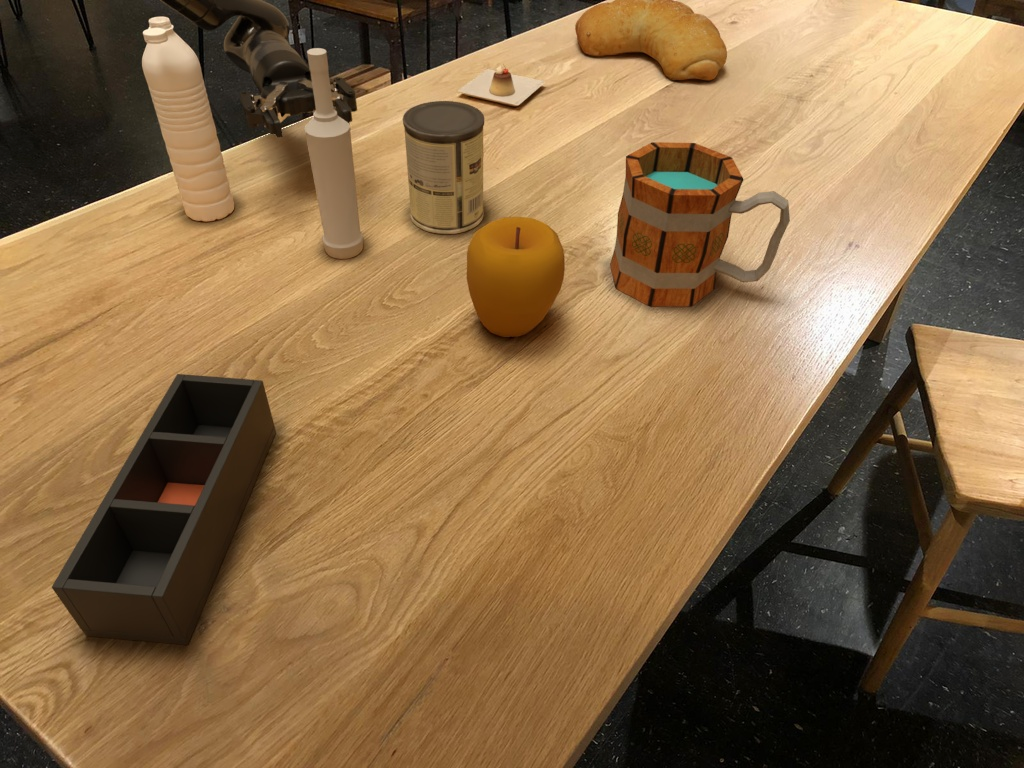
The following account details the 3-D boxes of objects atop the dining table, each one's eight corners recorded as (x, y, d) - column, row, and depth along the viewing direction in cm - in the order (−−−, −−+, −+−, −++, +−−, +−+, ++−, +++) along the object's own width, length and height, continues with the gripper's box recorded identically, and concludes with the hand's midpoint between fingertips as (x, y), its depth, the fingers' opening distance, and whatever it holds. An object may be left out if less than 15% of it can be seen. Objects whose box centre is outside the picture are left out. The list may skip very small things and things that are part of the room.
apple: (553, 360, 85) (562, 263, 76) (457, 348, 86) (455, 250, 77) (564, 301, 92) (573, 207, 84) (476, 290, 94) (476, 196, 85)
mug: (595, 293, 94) (610, 182, 84) (622, 238, 103) (639, 132, 93) (757, 332, 89) (794, 220, 79) (770, 270, 99) (804, 163, 88)
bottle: (362, 259, 98) (338, 60, 80) (321, 260, 97) (288, 60, 80) (365, 237, 101) (343, 43, 84) (326, 238, 101) (295, 42, 84)
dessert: (545, 87, 140) (547, 60, 136) (518, 111, 132) (519, 83, 128) (487, 74, 143) (487, 48, 140) (456, 97, 135) (456, 70, 132)
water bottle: (187, 200, 107) (132, 10, 90) (236, 196, 108) (190, 8, 91) (182, 233, 101) (121, 36, 84) (233, 229, 102) (184, 34, 85)
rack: (85, 636, 59) (51, 587, 54) (196, 425, 76) (177, 373, 71) (187, 645, 59) (162, 597, 54) (276, 431, 75) (262, 380, 71)
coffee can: (418, 193, 110) (412, 97, 101) (488, 199, 110) (489, 103, 100) (401, 231, 103) (394, 131, 93) (477, 238, 102) (477, 138, 92)
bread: (746, 61, 152) (758, 7, 145) (701, 91, 140) (712, 35, 134) (608, 23, 166) (614, -27, 159) (556, 48, 154) (560, -5, 147)
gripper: (335, 96, 111) (370, 143, 100) (235, 111, 106) (261, 162, 95) (328, 42, 106) (365, 86, 95) (223, 56, 101) (248, 104, 90)
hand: (313, 124), depth 95 cm, fingers open, 8 cm apart
